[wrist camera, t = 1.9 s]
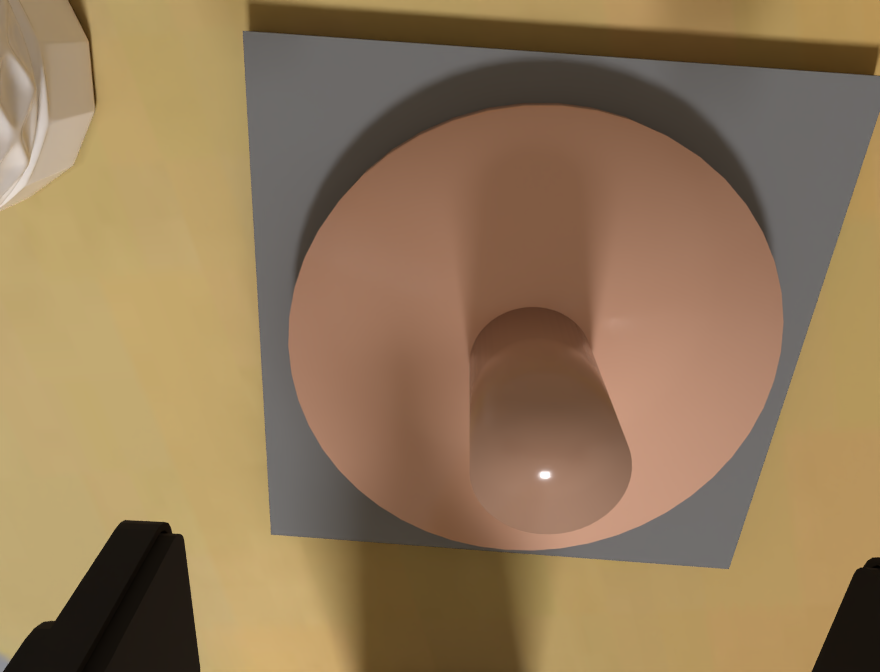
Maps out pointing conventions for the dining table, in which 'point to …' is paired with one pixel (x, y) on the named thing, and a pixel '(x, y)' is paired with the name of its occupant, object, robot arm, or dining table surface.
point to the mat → (535, 81)
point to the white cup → (41, 94)
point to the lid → (535, 327)
